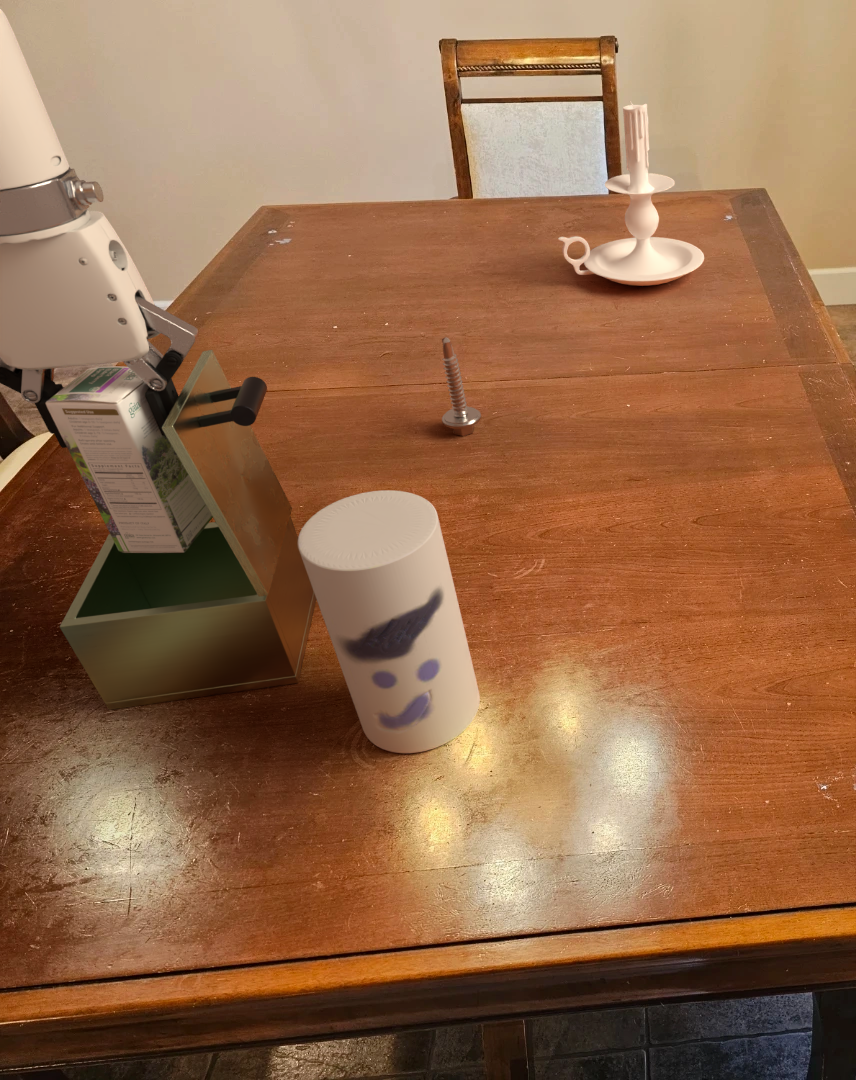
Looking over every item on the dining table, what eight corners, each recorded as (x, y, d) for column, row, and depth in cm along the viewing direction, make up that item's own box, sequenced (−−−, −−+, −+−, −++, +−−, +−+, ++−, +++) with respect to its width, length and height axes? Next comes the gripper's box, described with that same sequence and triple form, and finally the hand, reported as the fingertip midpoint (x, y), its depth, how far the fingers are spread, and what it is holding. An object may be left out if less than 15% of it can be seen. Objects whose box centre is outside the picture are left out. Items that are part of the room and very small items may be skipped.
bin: (108, 710, 81) (59, 626, 75) (149, 614, 91) (108, 534, 85) (298, 683, 83) (265, 600, 77) (317, 592, 93) (289, 513, 87)
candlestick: (548, 267, 163) (527, 95, 146) (679, 247, 171) (674, 82, 154) (580, 311, 148) (561, 125, 131) (722, 287, 156) (722, 108, 139)
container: (386, 774, 75) (321, 586, 63) (346, 700, 82) (279, 517, 69) (499, 718, 80) (458, 534, 68) (452, 653, 86) (408, 473, 74)
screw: (467, 444, 116) (437, 435, 118) (491, 426, 120) (461, 418, 121) (448, 348, 108) (416, 341, 110) (474, 332, 112) (442, 325, 113)
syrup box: (154, 514, 82) (83, 364, 73) (220, 514, 81) (156, 364, 73) (119, 554, 77) (38, 400, 68) (188, 554, 77) (116, 400, 68)
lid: (161, 428, 67) (231, 413, 67) (202, 351, 77) (263, 339, 77) (258, 597, 77) (319, 584, 78) (284, 510, 87) (337, 498, 87)
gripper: (170, 179, 67) (249, 399, 77) (-99, 196, 64) (22, 422, 75) (141, 212, 61) (230, 445, 72) (-157, 233, 58) (-17, 472, 69)
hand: (123, 432), depth 73 cm, fingers closed on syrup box, 6 cm apart
